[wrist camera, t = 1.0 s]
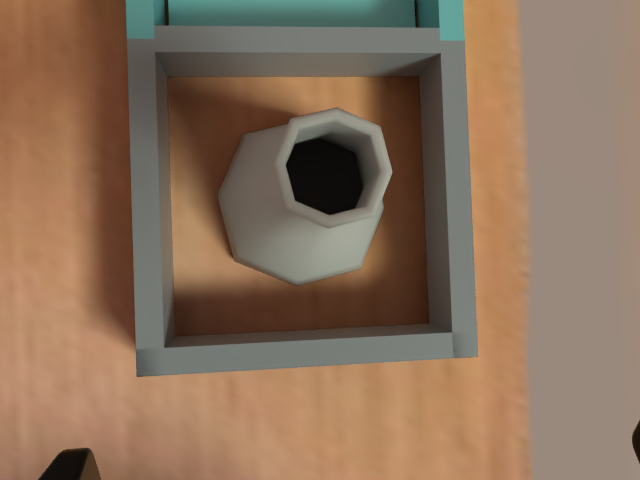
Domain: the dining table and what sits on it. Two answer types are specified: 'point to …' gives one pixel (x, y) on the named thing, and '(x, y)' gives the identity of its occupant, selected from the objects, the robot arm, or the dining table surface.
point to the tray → (302, 61)
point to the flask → (306, 196)
